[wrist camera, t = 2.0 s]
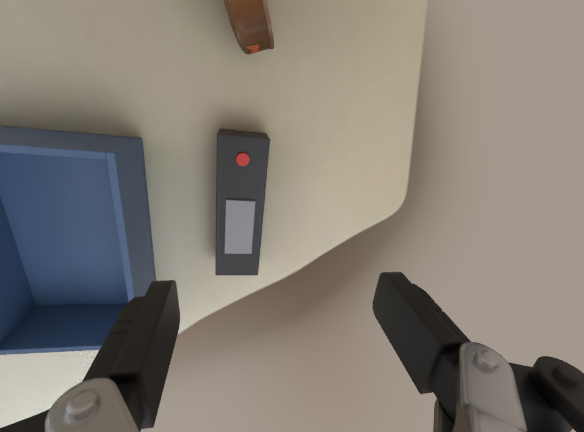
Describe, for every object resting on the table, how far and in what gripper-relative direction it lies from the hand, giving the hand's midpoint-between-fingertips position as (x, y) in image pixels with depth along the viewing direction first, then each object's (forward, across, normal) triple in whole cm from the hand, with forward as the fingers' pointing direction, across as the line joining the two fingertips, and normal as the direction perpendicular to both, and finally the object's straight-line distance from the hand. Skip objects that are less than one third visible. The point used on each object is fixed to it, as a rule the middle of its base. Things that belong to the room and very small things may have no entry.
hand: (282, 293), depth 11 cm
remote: (+20, +2, +4) cm, 21 cm away
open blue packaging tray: (+20, +18, +8) cm, 28 cm away
